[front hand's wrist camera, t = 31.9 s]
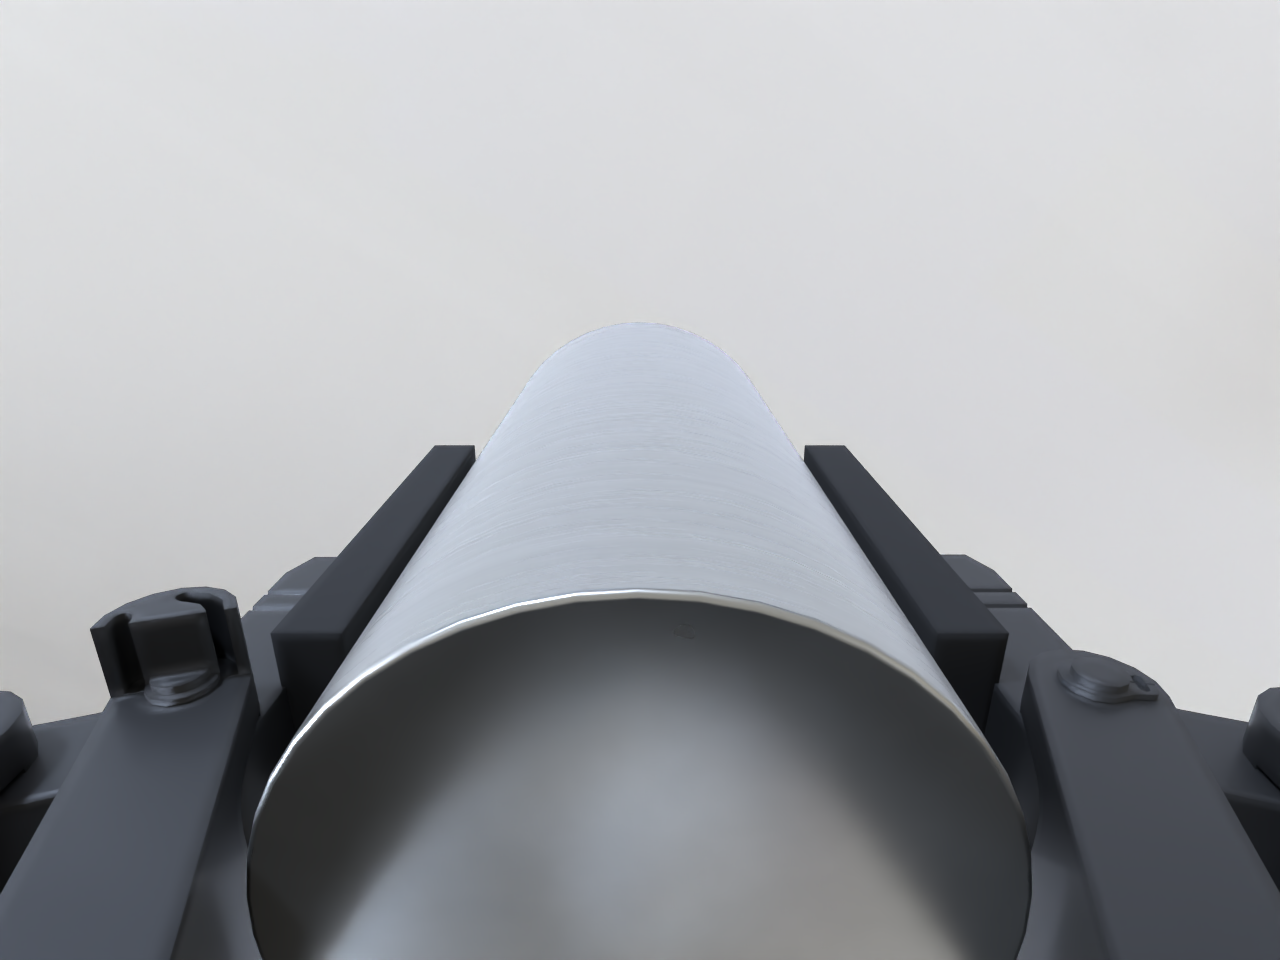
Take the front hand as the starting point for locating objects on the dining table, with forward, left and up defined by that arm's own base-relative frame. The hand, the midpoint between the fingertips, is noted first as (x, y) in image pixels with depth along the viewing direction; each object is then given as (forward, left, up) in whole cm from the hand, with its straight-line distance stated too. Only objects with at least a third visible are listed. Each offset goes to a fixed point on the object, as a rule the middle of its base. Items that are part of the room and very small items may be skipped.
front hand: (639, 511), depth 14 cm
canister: (0, 0, -4) cm, 4 cm away
